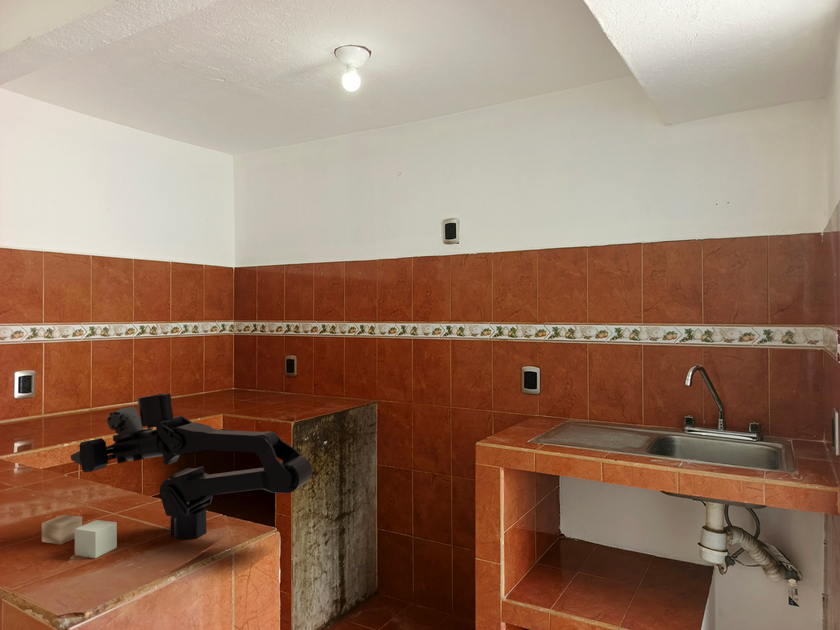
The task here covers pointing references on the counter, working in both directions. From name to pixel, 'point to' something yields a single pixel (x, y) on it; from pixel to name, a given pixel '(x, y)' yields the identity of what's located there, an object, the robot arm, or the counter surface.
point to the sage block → (95, 538)
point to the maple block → (60, 529)
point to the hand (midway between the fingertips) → (89, 453)
